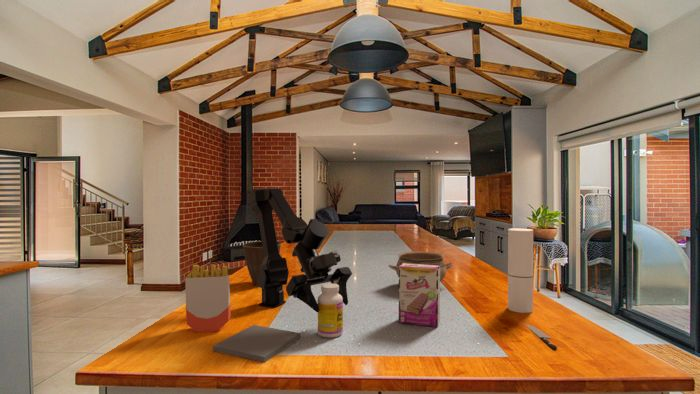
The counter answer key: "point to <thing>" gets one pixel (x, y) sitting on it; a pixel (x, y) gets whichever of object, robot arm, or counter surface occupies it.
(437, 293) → the candy bar box
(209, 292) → the french fries container
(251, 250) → the plant pot
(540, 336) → the chef's knife
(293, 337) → the charcoal mat
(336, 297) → the supplement bottle
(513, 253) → the cylindrical container
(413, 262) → the cooking pot
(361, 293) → the counter surface
